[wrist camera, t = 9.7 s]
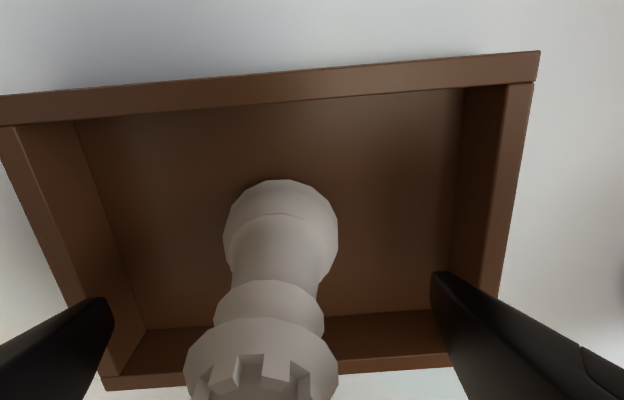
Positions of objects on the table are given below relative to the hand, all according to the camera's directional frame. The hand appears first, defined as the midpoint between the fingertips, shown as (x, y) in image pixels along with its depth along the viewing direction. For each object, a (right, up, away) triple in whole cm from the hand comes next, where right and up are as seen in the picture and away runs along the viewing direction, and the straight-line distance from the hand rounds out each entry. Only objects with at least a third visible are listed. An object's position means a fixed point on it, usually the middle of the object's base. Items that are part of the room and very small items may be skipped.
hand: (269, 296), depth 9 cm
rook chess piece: (0, +2, +5) cm, 5 cm away
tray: (0, +2, +5) cm, 5 cm away
